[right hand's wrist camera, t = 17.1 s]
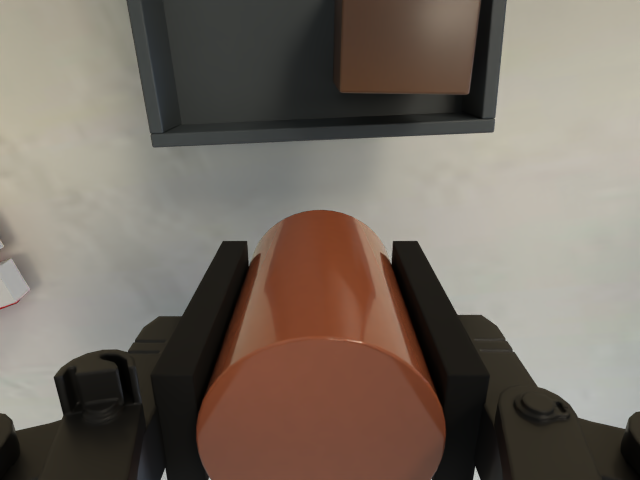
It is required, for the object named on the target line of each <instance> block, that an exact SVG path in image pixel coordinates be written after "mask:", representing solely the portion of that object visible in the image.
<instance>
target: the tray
mask: <svg viewBox="0 0 640 480" xmlns="http://www.w3.org/2000/svg"><path fill="white" fill-rule="evenodd" d="M506 1H507V0H481V5H480V13H479V21H478V29H477V36H476V44H475V52H474V60H473V67H472V75H471V83H470V91H469V94H467V95H459V94H388V93H341V92H340V91H339V90H338V88H337V87H336V86H335V84H334V83H333V53H334V10H335V0H127V5H128V11H129V16H130V22H131V28H132V33H133V39H134V45H135V50H136V56H137V61H138V67H139V73H140V78H141V84H142V89H143V95H144V101H145V106H146V112H147V118H148V123H149V129H150V133H151V140H152V146H153V147H174V146H197V145H219V144H242V143H264V142H287V141H309V140H332V139H354V138H377V137H399V136H422V135H444V134H467V133H489V132H494V124H495V119H493V118H495V114H496V104H497V94H498V83H499V73H500V63H501V52H502V42H503V32H504V21H505V11H506Z"/></svg>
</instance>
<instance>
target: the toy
mask: <svg viewBox="0 0 640 480" xmlns="http://www.w3.org/2000/svg"><path fill="white" fill-rule="evenodd" d="M3 247H4V245H3V243H2V242H1V240H0V249H1V248H3ZM29 290H30V288H29V287H28V285H27V283H26V282H25V280H24V278H23V277H22V275H21V273H20V272H19V270H18V268H17V267H16V265H15V263H14V262H13V260H12V258H11V259H8V260H5V261H2V262H0V309H2V308H5V307H8V306H10V305H13V304H16V303H17V302H18V301H19V299H20V298H22V297H23V296H24V295H25V294H26V293H27V292H28V291H29Z"/></svg>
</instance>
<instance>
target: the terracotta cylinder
mask: <svg viewBox="0 0 640 480" xmlns="http://www.w3.org/2000/svg"><path fill="white" fill-rule="evenodd" d="M196 442H197V448H198V453H199V456H200V459H201V462H202V465H203V467H204V468H205V470H206V472H207V474H208V476H209V477H210V479H211V480H431V479H432V477H433V475H434V474H435V472H436V471H437V468H438V466H439V464H440V462H441V459H442V456H443V452H444V448H445V442H446V422H445V416H444V413H443V409H442V405H441V402H440V400H439V397H438V394H437V391H436V388H435V386H434V383H433V380H432V377H431V374H430V372H429V369H428V366H427V363H426V360H425V358H424V355H423V352H422V349H421V346H420V343H419V341H418V338H417V335H416V332H415V329H414V327H413V324H412V321H411V318H410V315H409V313H408V310H407V307H406V304H405V301H404V299H403V296H402V293H401V290H400V287H399V285H398V282H397V279H396V276H395V273H394V270H393V268H392V265H391V262H390V259H389V256H388V254H387V251H386V249H385V247H384V245H383V244H382V242H381V240H380V239H379V238H378V236H377V235H376V234H375V233H374V232H373V231H372V230H371V229H370V228H369V227H368V226H367V225H365V224H364V223H362V222H361V221H359V220H357V219H355V218H353V217H352V216H349V215H346V214H343V213H340V212H335V211H328V210H312V211H306V212H301V213H298V214H294V215H292V216H290V217H287V218H285V219H284V220H282V221H280V222H279V223H277V224H276V225H274V226H273V227H272V228H271V229H270V230H269V231H268V232H267V233H266V234H265V235H264V236H263V237H262V239H261V240H260V242H259V243H258V245H257V247H256V249H255V251H254V254H253V256H252V259H251V262H250V265H249V268H248V271H247V274H246V276H245V279H244V282H243V285H242V288H241V291H240V294H239V297H238V300H237V302H236V305H235V308H234V311H233V314H232V317H231V320H230V323H229V326H228V328H227V331H226V334H225V337H224V340H223V343H222V346H221V349H220V351H219V354H218V357H217V360H216V363H215V366H214V369H213V372H212V375H211V377H210V380H209V383H208V386H207V389H206V392H205V395H204V398H203V401H202V403H201V406H200V409H199V412H198V417H197V423H196Z"/></svg>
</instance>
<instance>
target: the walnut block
mask: <svg viewBox="0 0 640 480" xmlns="http://www.w3.org/2000/svg"><path fill="white" fill-rule="evenodd" d="M480 5H481V0H335V10H334V53H333V83H334V84H335V86H336V87H337V88H338V90H339V91H340V92H341V93H388V94H459V95H467V94H469V91H470V83H471V75H472V67H473V60H474V52H475V44H476V36H477V29H478V21H479V13H480Z"/></svg>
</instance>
